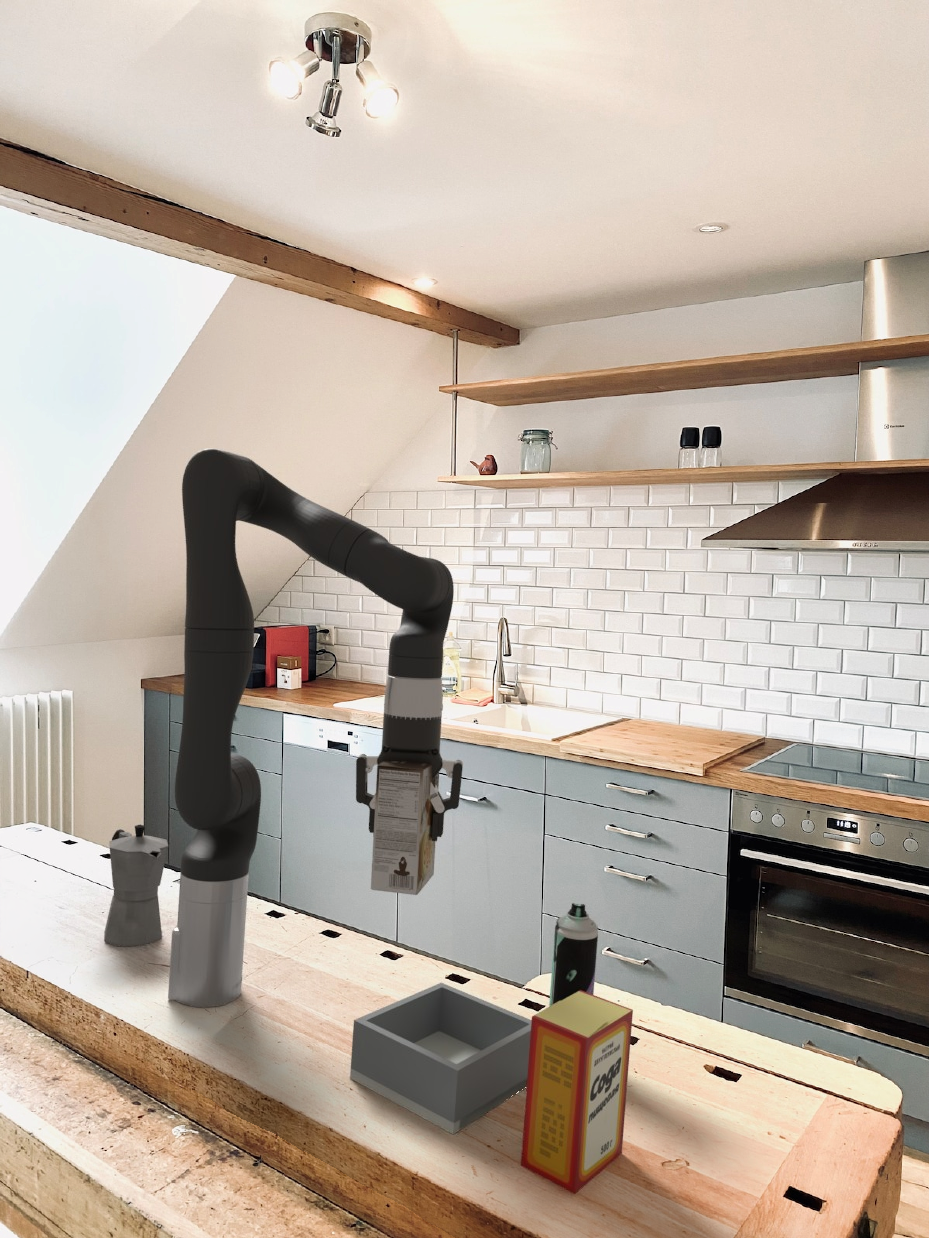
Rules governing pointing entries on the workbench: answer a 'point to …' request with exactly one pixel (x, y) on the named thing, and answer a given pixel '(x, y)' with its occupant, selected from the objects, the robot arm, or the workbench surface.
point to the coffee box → (403, 827)
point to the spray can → (573, 954)
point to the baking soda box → (576, 1089)
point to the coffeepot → (135, 888)
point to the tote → (442, 1055)
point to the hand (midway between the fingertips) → (405, 837)
